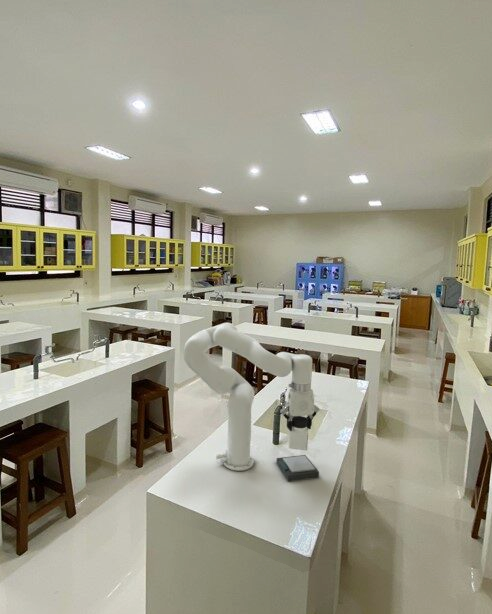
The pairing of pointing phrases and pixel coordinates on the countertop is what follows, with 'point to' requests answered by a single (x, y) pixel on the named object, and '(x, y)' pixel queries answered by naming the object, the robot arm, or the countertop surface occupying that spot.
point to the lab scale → (297, 468)
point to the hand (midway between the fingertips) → (299, 428)
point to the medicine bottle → (298, 433)
